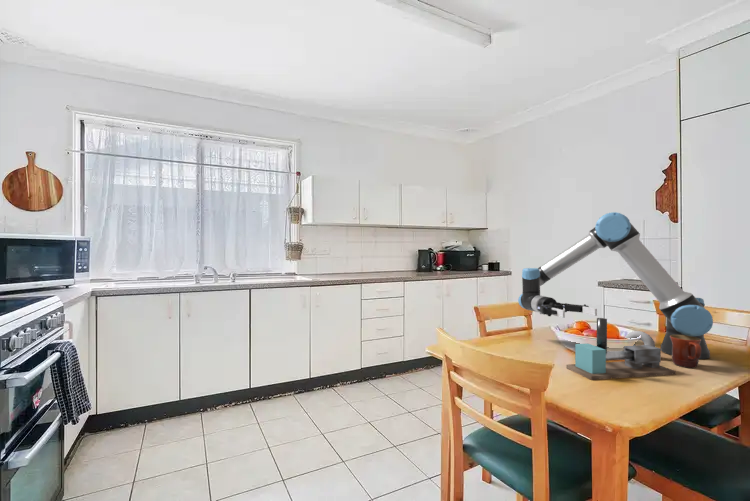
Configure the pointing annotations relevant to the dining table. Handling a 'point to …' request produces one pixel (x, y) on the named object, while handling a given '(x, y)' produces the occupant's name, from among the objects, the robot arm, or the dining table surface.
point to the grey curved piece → (644, 337)
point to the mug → (685, 350)
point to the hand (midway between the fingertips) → (580, 313)
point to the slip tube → (603, 343)
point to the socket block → (590, 358)
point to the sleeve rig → (631, 365)
